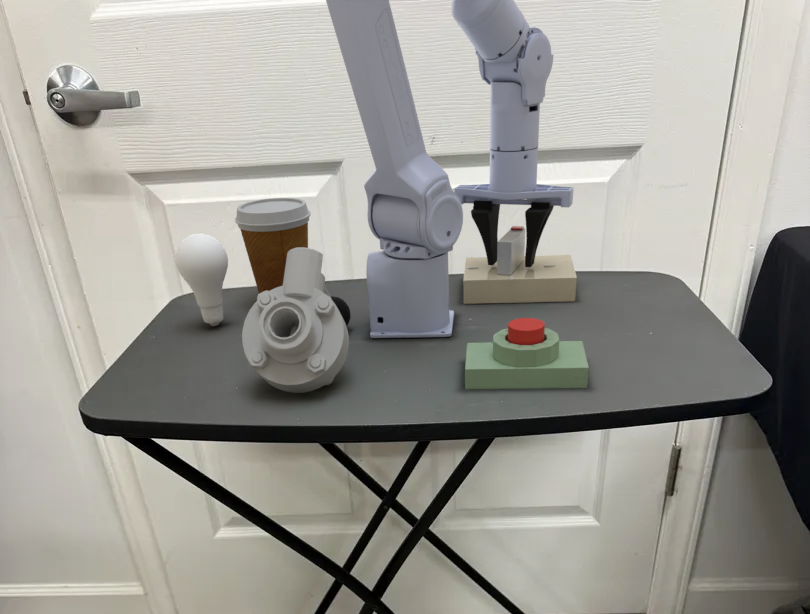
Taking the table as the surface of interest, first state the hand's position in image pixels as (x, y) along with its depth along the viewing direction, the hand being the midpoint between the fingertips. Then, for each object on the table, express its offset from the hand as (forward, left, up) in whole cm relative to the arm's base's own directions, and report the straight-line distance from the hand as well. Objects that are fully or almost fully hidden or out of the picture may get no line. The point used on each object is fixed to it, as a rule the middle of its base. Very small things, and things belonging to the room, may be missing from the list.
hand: (511, 264), depth 100 cm
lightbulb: (-37, -11, -4) cm, 39 cm away
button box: (+1, -27, -3) cm, 28 cm away
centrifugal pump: (-22, -23, -4) cm, 32 cm away
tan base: (+1, 0, -3) cm, 4 cm away
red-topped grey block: (0, 0, 0) cm, 0 cm away
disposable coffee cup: (-30, -2, -4) cm, 30 cm away
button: (+1, -28, 0) cm, 28 cm away
